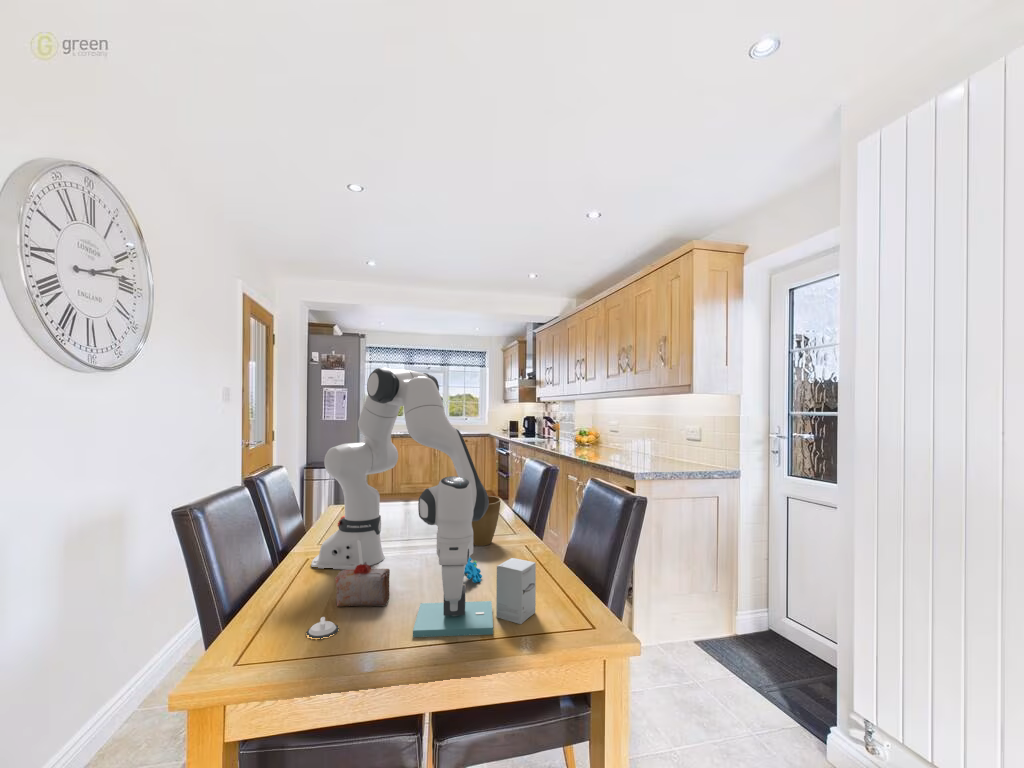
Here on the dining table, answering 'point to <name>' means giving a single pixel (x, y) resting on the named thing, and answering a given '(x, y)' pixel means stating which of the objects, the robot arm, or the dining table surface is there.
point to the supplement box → (516, 590)
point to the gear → (472, 571)
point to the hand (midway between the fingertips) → (454, 603)
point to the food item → (363, 586)
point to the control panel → (454, 620)
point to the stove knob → (322, 629)
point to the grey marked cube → (460, 605)
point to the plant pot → (486, 523)
